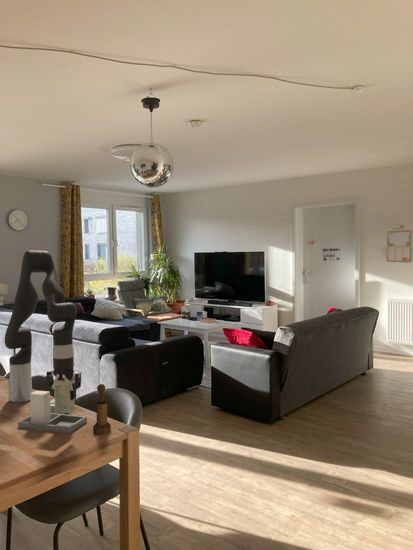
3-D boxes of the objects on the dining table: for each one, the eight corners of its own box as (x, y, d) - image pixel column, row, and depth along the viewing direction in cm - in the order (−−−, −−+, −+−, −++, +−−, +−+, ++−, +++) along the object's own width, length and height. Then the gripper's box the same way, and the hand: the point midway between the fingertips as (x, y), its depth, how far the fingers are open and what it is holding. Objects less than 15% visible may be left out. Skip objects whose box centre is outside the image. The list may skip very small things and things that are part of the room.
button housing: (42, 416, 188) (42, 404, 187) (55, 409, 196) (55, 398, 196) (61, 418, 185) (61, 406, 185) (74, 411, 194) (73, 399, 194)
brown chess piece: (114, 431, 172) (113, 384, 171) (99, 436, 167) (98, 388, 166) (104, 426, 176) (103, 381, 175) (89, 431, 172) (88, 384, 171)
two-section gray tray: (18, 431, 173) (17, 422, 173) (38, 419, 184) (37, 411, 184) (69, 437, 166) (69, 428, 166) (87, 425, 178) (86, 416, 178)
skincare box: (75, 409, 175) (74, 378, 175) (70, 413, 171) (69, 381, 170) (58, 408, 176) (58, 377, 175) (54, 412, 172) (53, 380, 171)
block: (31, 424, 176) (30, 393, 175) (37, 420, 180) (36, 390, 179) (44, 425, 174) (43, 394, 173) (50, 421, 178) (49, 391, 177)
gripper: (85, 354, 174) (86, 397, 175) (52, 352, 178) (54, 394, 179) (74, 358, 167) (75, 403, 168) (40, 356, 171) (42, 400, 172)
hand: (64, 398), depth 173 cm, fingers closed on skincare box, 6 cm apart
